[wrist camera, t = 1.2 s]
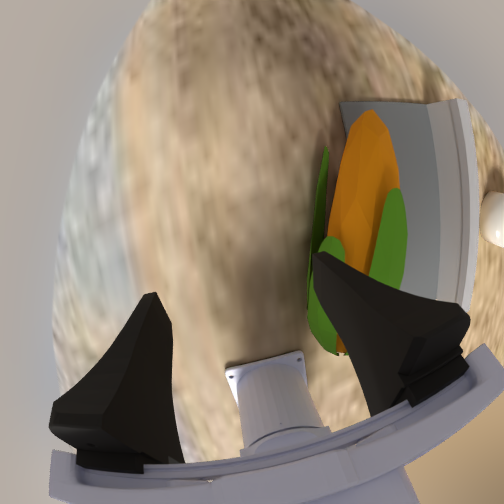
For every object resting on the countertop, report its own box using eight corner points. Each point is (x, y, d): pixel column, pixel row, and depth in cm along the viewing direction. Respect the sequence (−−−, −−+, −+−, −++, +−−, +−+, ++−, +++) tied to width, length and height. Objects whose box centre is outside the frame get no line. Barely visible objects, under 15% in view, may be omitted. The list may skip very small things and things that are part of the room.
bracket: (442, 293, 27) (469, 310, 22) (363, 327, 26) (387, 353, 21) (433, 105, 20) (466, 100, 15) (338, 102, 19) (368, 88, 15)
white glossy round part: (499, 235, 27) (516, 241, 23) (477, 245, 26) (495, 253, 23) (500, 188, 24) (518, 192, 21) (478, 193, 24) (498, 197, 21)
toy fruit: (314, 389, 18) (343, 83, 12) (289, 334, 25) (301, 109, 19) (394, 370, 19) (437, 112, 13) (357, 325, 26) (379, 122, 20)
